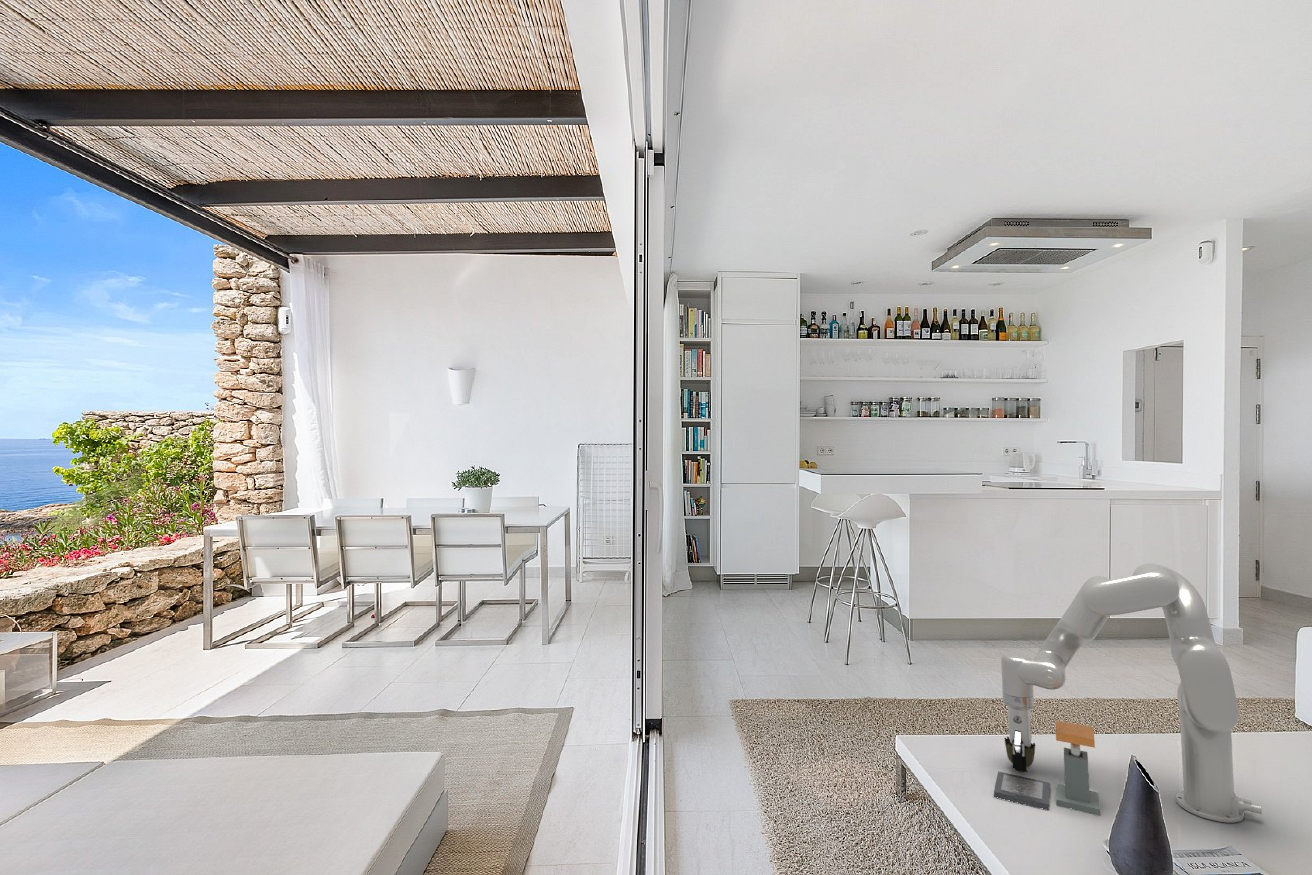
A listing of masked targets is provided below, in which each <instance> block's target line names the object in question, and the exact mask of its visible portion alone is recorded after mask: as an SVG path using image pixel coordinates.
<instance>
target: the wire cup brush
mask: <svg viewBox="0 0 1312 875" xmlns="http://www.w3.org/2000/svg"><path fill="white" fill-rule="evenodd" d="M1020 743H1021V744H1023V742H1020ZM1004 744H1005V749H1006V751H1005V752H1006V754H1007V759H1008V761H1009V762H1010V763H1011V764H1013V763H1012V753H1013V744H1012V743H1011V742H1010V736H1007V737H1004ZM1021 748H1022V747H1021ZM1035 751H1036V743H1035V742H1033V743H1032V742H1031V746H1030V747H1028V746H1025V756H1026V771H1021V770H1017V769H1014V770H1015V771H1016V772H1019V773H1022V772H1023V773H1024V772H1025V773H1028V771H1029V767H1031V766H1032V765H1033V763H1034V761H1035V753H1036V752H1035Z"/></svg>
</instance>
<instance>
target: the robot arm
mask: <svg viewBox="0 0 1312 875" xmlns="http://www.w3.org/2000/svg"><path fill="white" fill-rule="evenodd" d="M1160 608H1162V612H1163V615H1164V620H1165V623H1166V628H1167V631H1168V636H1169V637H1168V638H1169V644H1170V651H1171V657H1172V659H1173V661H1174V664H1175V665H1176V667H1177V671H1178V674H1179V679H1180V683H1179V685H1178V687H1177V693H1176V694H1177V695H1176V696H1177V705H1178V713H1179V725H1180V743H1181V744H1180V746H1181V764H1182V765H1181V766H1182V768H1181V769H1182V786H1183V790H1181V791H1178V792H1177V793H1176V794H1175V801H1176V803H1177V804H1178V806H1180V807H1181V808H1183V809H1184V810H1185V811H1186V812H1189V813H1191V814H1193V815H1195V816H1197V817H1200V818H1202V819H1203V818H1204V819H1207V820H1209V821H1215V822H1220V823H1226V824H1227V823H1231V824H1233V823H1238V822H1241V821H1243V820H1244V818H1245V816H1244V815H1245V813H1244V812H1245V811H1247V812H1250V813H1254V814H1258V815H1262V814H1263V810H1262V806H1261V805H1260V804H1256V803H1253V802H1252V799H1246V798H1241V797H1240V798H1239V796H1237V794H1236V793H1235V787H1234V786H1235V784H1234V783H1235V782H1234V780H1235V779H1234V767H1233V766H1234V764H1233V763H1234V762H1233V741H1232V740H1233V739H1232V729H1234V728H1235V727H1236V726H1237V724H1238V722H1239V718H1240V711H1239V710H1240V709H1239V706H1238V705H1239V704H1238V700H1237V696H1236V691H1235V685H1234V681H1233V677H1232V672H1231V668H1230V665H1229V663H1228V661H1227V658H1226V656H1225V655H1224V654H1223V652H1222V650H1220V649H1219V647H1218V646H1217V644H1216V642H1215V638H1214V634H1213V630H1212V624H1211V622H1210V618H1209V615H1208V610H1207V607H1206V605H1205V602H1204V600H1203V598H1202V595H1200V593H1199V591H1198V590H1197V588H1196V587H1195V586H1194V585H1193V584H1192V583H1191V582H1190V581H1189V580H1188V579H1187V578H1186V577H1185V576H1184V575H1182V574H1180V573H1179V572H1177V571H1175V570H1173V569H1171V568H1169V567H1166V566H1164V565H1160V564H1156V563H1144V564H1141V565H1139V566H1138V567H1136V568H1135V569H1134V571H1133V573H1132V575H1131V576H1126V577H1121V578H1117V579H1111V578H1108V577H1106V576H1101V575H1098V576H1097V575H1096V576H1091V577H1090V578H1088V579H1087V580H1086V581H1085V582H1084V583H1083V584H1082V585H1081V587H1080V589H1079V590H1078V592H1077V594H1076V595H1075V597H1074V598H1073V599H1072V601H1071V603H1070V604H1069V606H1068V607H1067V609H1066V611H1064V613H1063V615H1062V616H1061V618H1060V619H1059V620H1058V622H1057V623H1056V625H1055V626H1054V628H1053V629H1052V630H1051V632H1050V633H1049V635H1048V636H1047V637H1046V638H1045V640H1044V641H1043V643H1042V644H1041V646H1040V648H1039V650H1038V651H1037V653H1036V654H1035V656H1034V658H1033V660H1032V658H1031V657H1030V656H1028V655H1027V654H1025V653H1021V652H1010V651H1009V652H1005V653H1003V654H1002V655H1001V658H1000V659H1001V680H1002V681H1001V687H1002V703H1003V705H1004V706H1006V707H1007V715H1008V716H1007V717H1008V718H1007V719H1008V734H1009V739H1010V742H1011V743H1012V744H1013V753H1012V763H1011V764H1012V769H1014V770H1015V769H1017V770H1021V771H1026V756H1025V746H1028V747H1030V746H1031V743H1032V737H1033V736H1032V733H1033V732H1032V720H1031V719H1032V717H1031V710H1033V709H1034V707H1035V703H1034V686H1035V687H1039V688H1042V689H1046V690H1051V691H1052V690H1054V691H1055V690H1059V689H1061V688H1062V687H1063V686H1065V683H1066V680H1067V679H1066V678H1067V677H1066V668H1067V666H1068V665H1069V664H1070V662H1071V661H1072V659H1073V657H1074V656H1075V654H1076V653H1077V652H1078V651H1079V650H1080V648H1081V647H1083V646H1084V645H1086V644H1089V643H1091V642H1093V641H1094V640H1095V638H1096V637H1097V635H1098V634H1099V633H1100V631H1101V630H1102V628H1103V627H1104V625H1105V623H1106V622H1107V620H1109V617H1111V616H1119V615H1126V614H1133V613H1137V612H1143V611H1148V610H1152V609H1160ZM1020 742H1023V744H1021V743H1020ZM1021 747H1022V748H1021Z"/></svg>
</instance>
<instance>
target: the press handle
mask: <svg viewBox="0 0 1312 875" xmlns="http://www.w3.org/2000/svg"><path fill="white" fill-rule="evenodd" d="M1094 730H1095V729H1094V726H1090V725H1082V724H1078V723H1072V722H1066V721H1061V720H1055V740H1056V741H1057V742H1058V741H1059V742H1062V743H1068V744H1070V749H1071V755H1072V756H1077V757H1081V756H1080V751H1081V746H1085V747H1090V748H1093V749H1094V748H1096V745H1095V742H1096V741H1095V731H1094Z"/></svg>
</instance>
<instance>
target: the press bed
mask: <svg viewBox="0 0 1312 875" xmlns="http://www.w3.org/2000/svg"><path fill="white" fill-rule="evenodd" d="M994 797H998V798H1001V799H1000V800H1002V799H1005V800H1004V801H1007V800H1010V801H1009V802H1011V801H1013V802H1012V803H1015V802H1018V803H1017V804H1019V803H1020V804H1021V805H1023V804H1026V805H1025V806H1028V805H1029V806H1028V807H1032V806H1033V808H1037V809H1040V808H1043V809H1042V810H1044V809H1047V810H1046V811H1048V810H1049V811H1050V801H1049V800H1050V799H1051V783H1050V782H1049V781H1044V780H1039V779H1034V778H1031V777H1027V776H1020V775H1018V774H1017V775H1016V774H1011V773H1007V772H1002V771H998V772H997V775H996V779H995V784H994V790H993V798H994ZM998 798H997V799H998Z"/></svg>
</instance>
